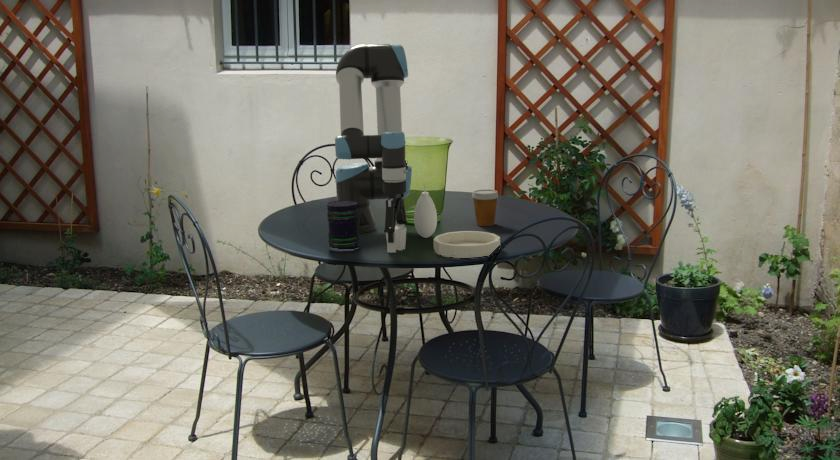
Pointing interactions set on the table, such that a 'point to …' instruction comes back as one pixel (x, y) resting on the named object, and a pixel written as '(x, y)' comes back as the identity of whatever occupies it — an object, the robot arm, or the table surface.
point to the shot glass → (400, 237)
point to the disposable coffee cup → (485, 206)
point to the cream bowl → (466, 244)
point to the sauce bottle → (425, 215)
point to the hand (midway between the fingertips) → (396, 247)
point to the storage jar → (343, 224)
